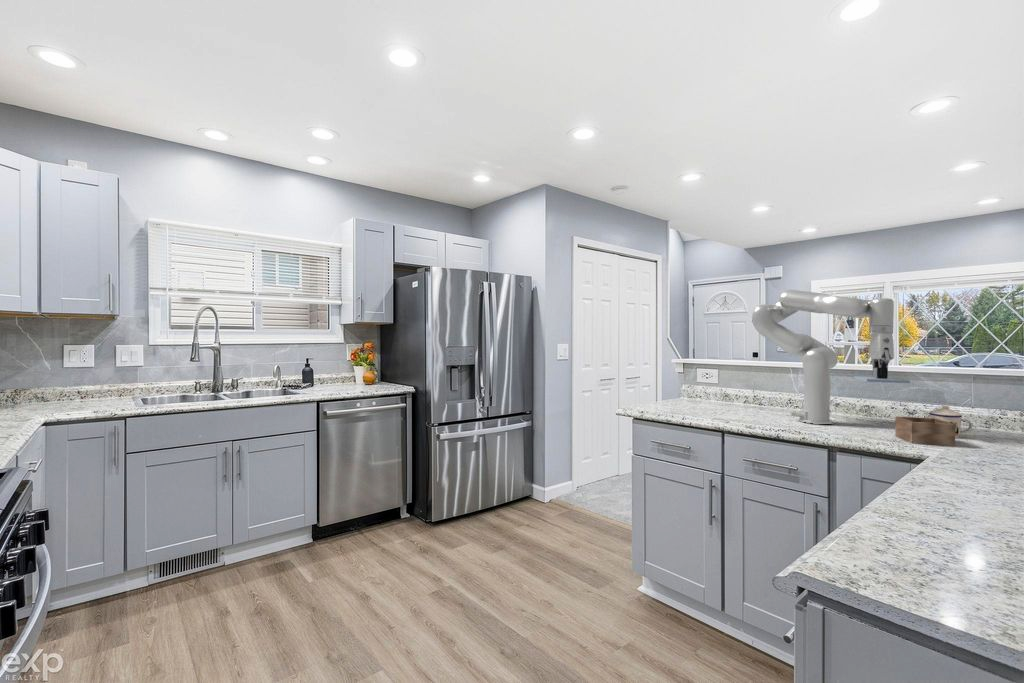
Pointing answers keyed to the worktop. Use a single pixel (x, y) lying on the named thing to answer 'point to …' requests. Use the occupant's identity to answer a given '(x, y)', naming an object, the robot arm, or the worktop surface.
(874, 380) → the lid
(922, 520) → the worktop surface
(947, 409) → the teacup with lid
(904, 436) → the box
